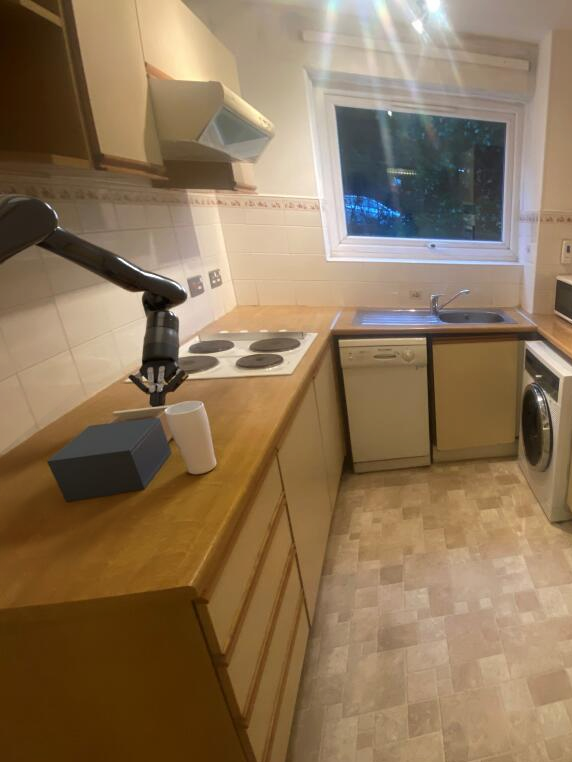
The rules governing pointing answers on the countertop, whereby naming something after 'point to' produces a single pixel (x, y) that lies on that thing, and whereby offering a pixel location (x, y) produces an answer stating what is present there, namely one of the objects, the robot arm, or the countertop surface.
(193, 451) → the drinking glass
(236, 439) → the countertop surface
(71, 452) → the dark grey box
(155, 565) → the countertop surface
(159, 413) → the drawer
